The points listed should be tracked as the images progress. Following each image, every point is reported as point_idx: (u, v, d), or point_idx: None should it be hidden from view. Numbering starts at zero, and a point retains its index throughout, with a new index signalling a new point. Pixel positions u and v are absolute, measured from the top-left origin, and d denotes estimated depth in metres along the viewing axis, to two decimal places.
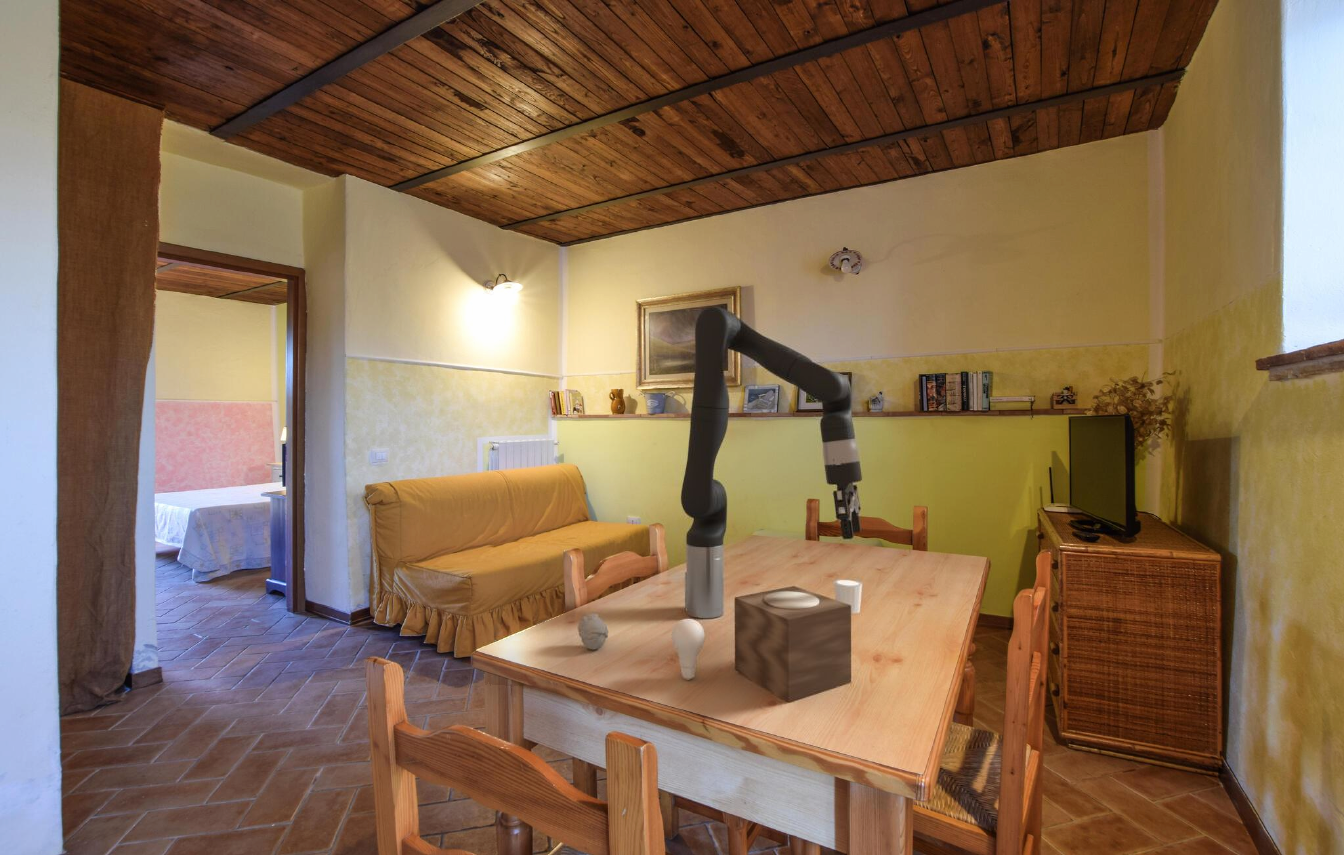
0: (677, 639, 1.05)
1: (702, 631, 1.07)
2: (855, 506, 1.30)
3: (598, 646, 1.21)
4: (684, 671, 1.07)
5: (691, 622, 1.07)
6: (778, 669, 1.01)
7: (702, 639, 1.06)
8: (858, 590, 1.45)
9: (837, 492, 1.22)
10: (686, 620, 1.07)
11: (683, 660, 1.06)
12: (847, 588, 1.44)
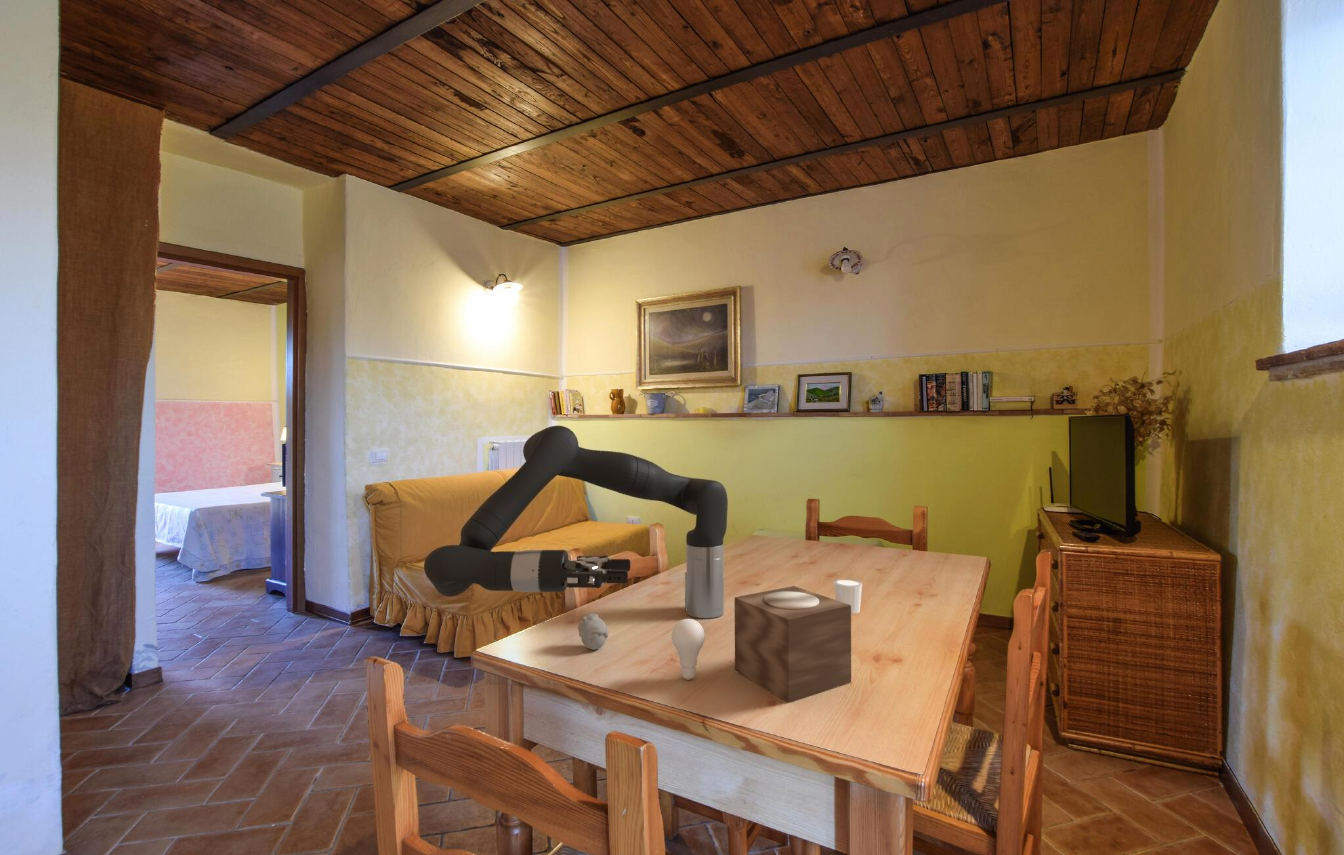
0: (677, 639, 1.05)
1: (702, 631, 1.07)
2: None
3: (598, 646, 1.21)
4: (684, 671, 1.07)
5: (691, 622, 1.07)
6: (778, 669, 1.01)
7: (702, 639, 1.06)
8: (858, 590, 1.45)
9: None
10: (686, 620, 1.07)
11: (683, 660, 1.06)
12: (847, 588, 1.44)
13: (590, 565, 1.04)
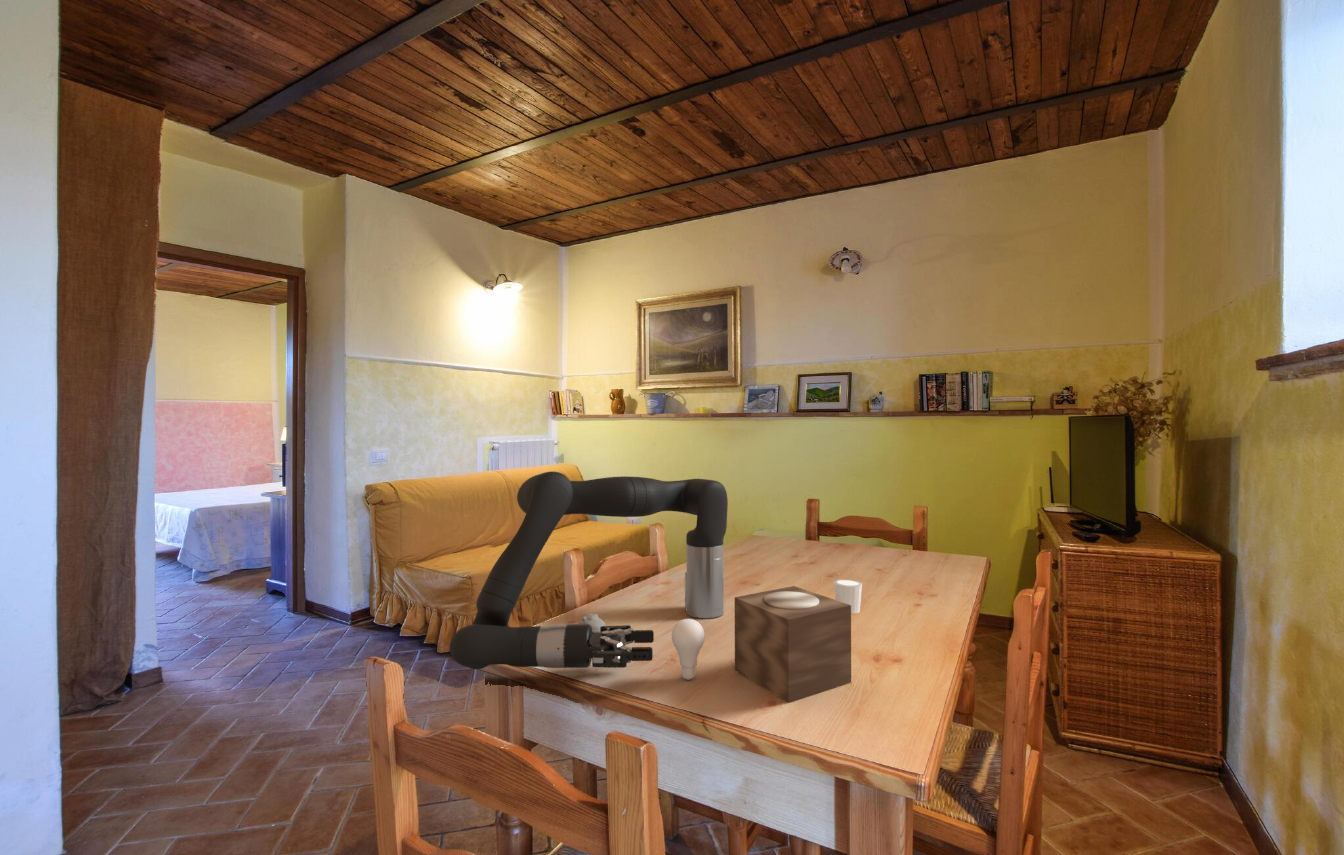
0: (677, 639, 1.05)
1: (702, 631, 1.07)
2: None
3: None
4: (684, 671, 1.07)
5: (691, 622, 1.07)
6: (778, 669, 1.01)
7: (702, 639, 1.06)
8: (858, 590, 1.45)
9: None
10: (686, 620, 1.07)
11: (683, 660, 1.06)
12: (847, 588, 1.44)
13: (615, 642, 1.04)
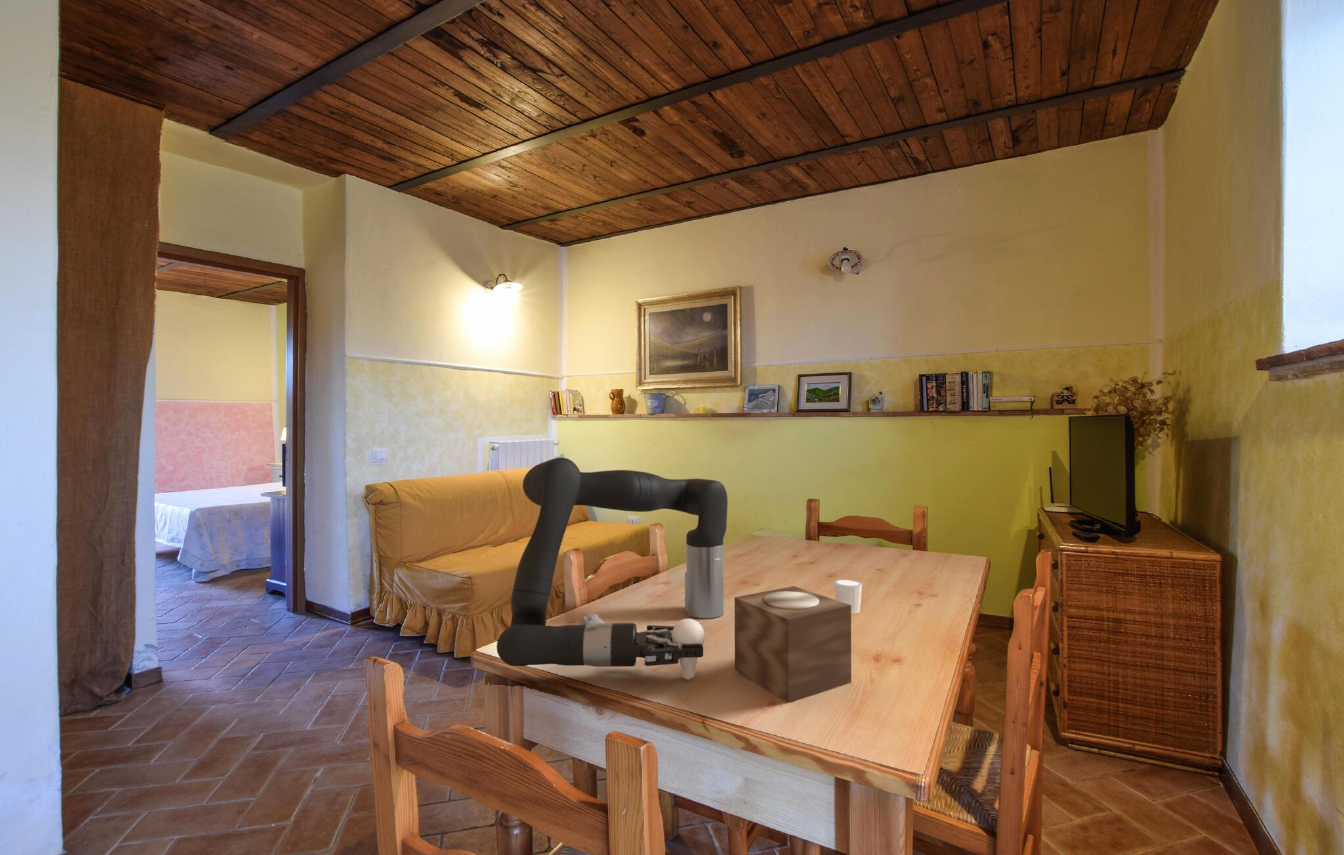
0: (677, 639, 1.05)
1: (702, 631, 1.07)
2: None
3: None
4: (684, 671, 1.07)
5: (691, 622, 1.07)
6: (778, 669, 1.01)
7: (702, 639, 1.06)
8: (858, 590, 1.45)
9: None
10: (686, 620, 1.07)
11: (683, 660, 1.06)
12: (847, 588, 1.44)
13: (663, 640, 1.05)
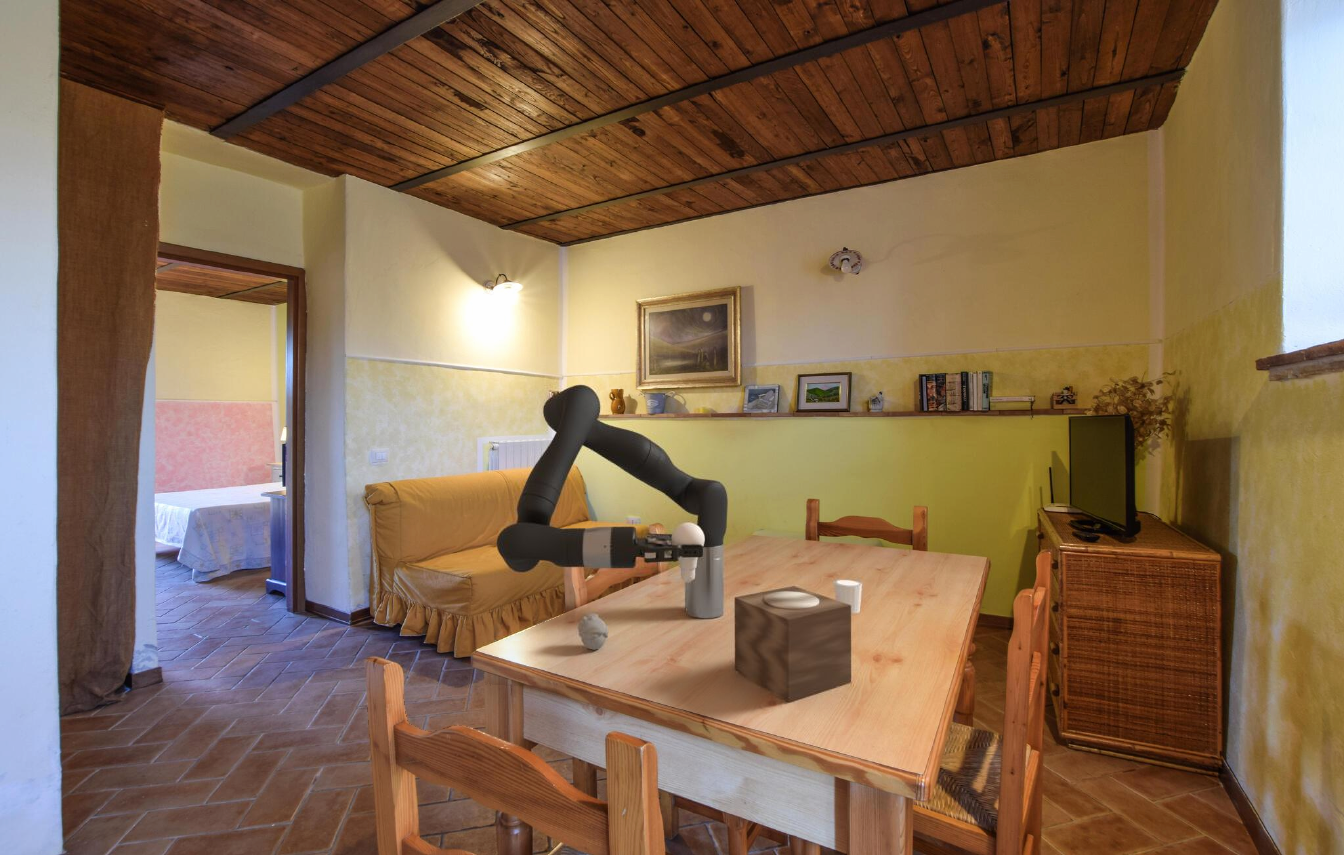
0: (676, 541, 1.05)
1: (702, 533, 1.07)
2: None
3: (598, 646, 1.21)
4: (684, 573, 1.07)
5: (691, 524, 1.07)
6: (778, 669, 1.01)
7: (702, 541, 1.06)
8: (858, 590, 1.45)
9: None
10: (686, 523, 1.07)
11: (682, 561, 1.06)
12: (847, 588, 1.44)
13: (663, 540, 1.05)
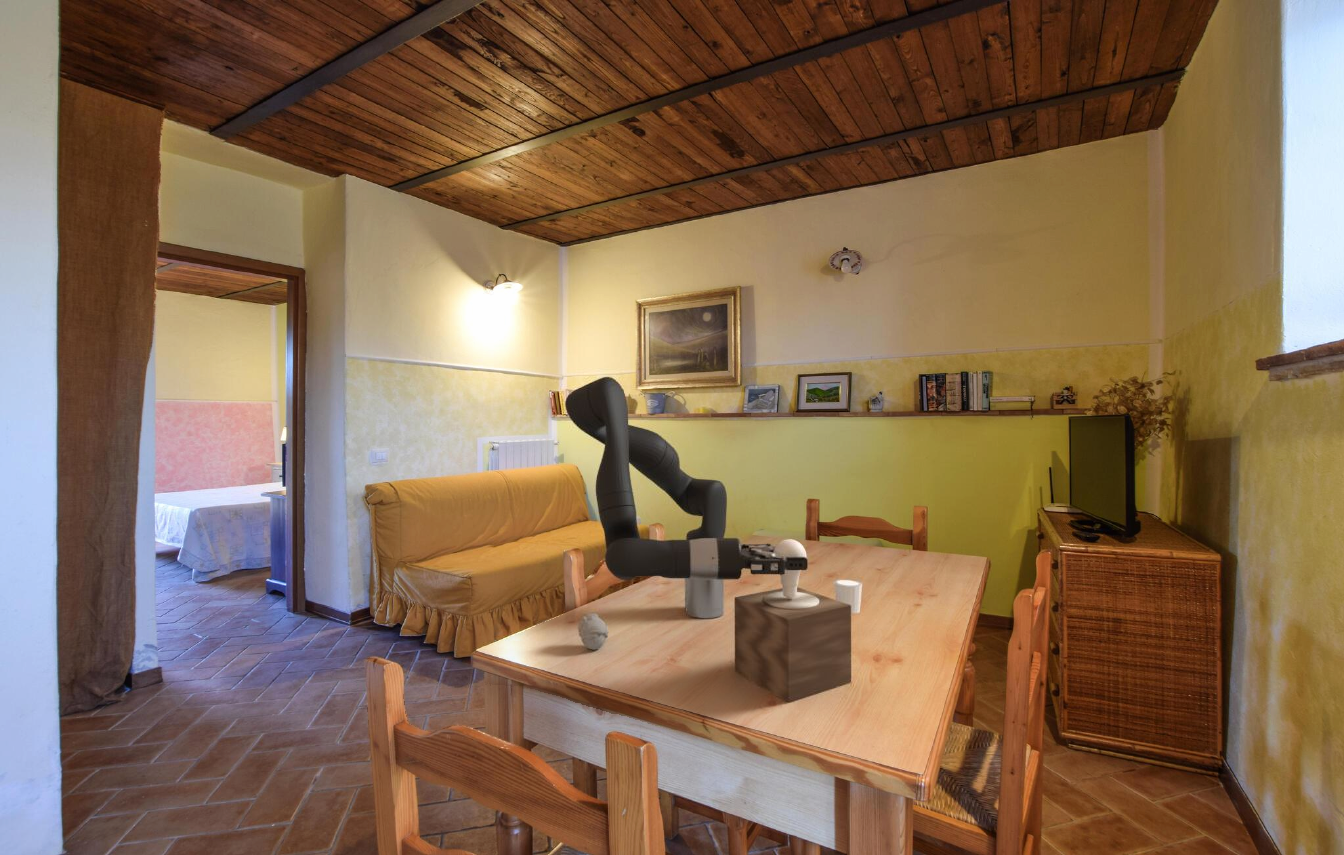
0: None
1: (804, 550, 1.08)
2: None
3: (598, 646, 1.21)
4: (787, 589, 1.08)
5: (793, 541, 1.08)
6: (778, 669, 1.01)
7: None
8: (858, 590, 1.45)
9: None
10: (788, 540, 1.09)
11: (786, 578, 1.07)
12: (847, 588, 1.44)
13: (768, 552, 1.05)
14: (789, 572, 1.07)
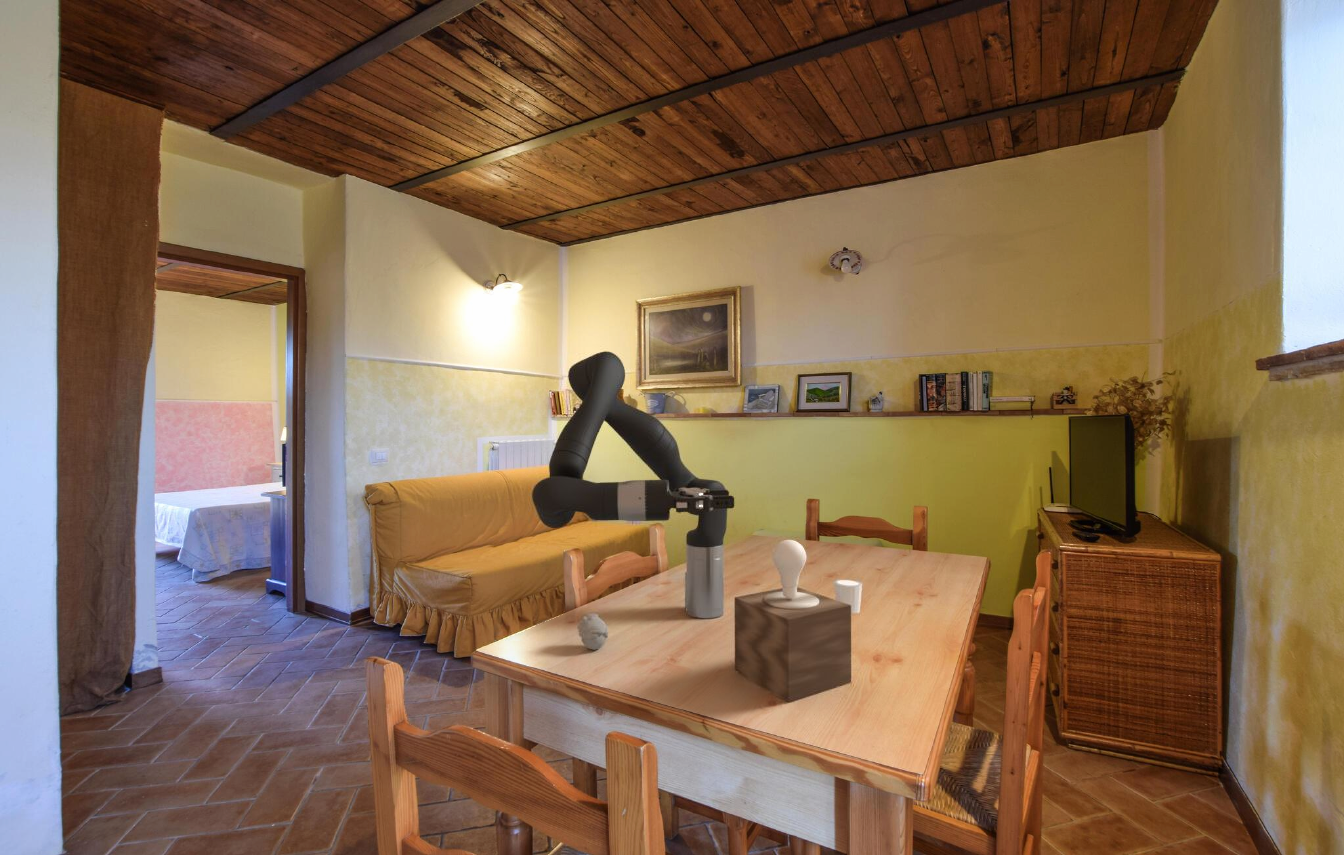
0: (780, 558, 1.06)
1: (804, 551, 1.07)
2: None
3: (598, 646, 1.21)
4: (786, 590, 1.07)
5: (793, 542, 1.07)
6: (778, 669, 1.01)
7: (805, 558, 1.07)
8: (858, 590, 1.45)
9: None
10: (787, 540, 1.08)
11: (785, 579, 1.07)
12: (847, 588, 1.44)
13: (695, 492, 1.05)
14: (789, 573, 1.06)
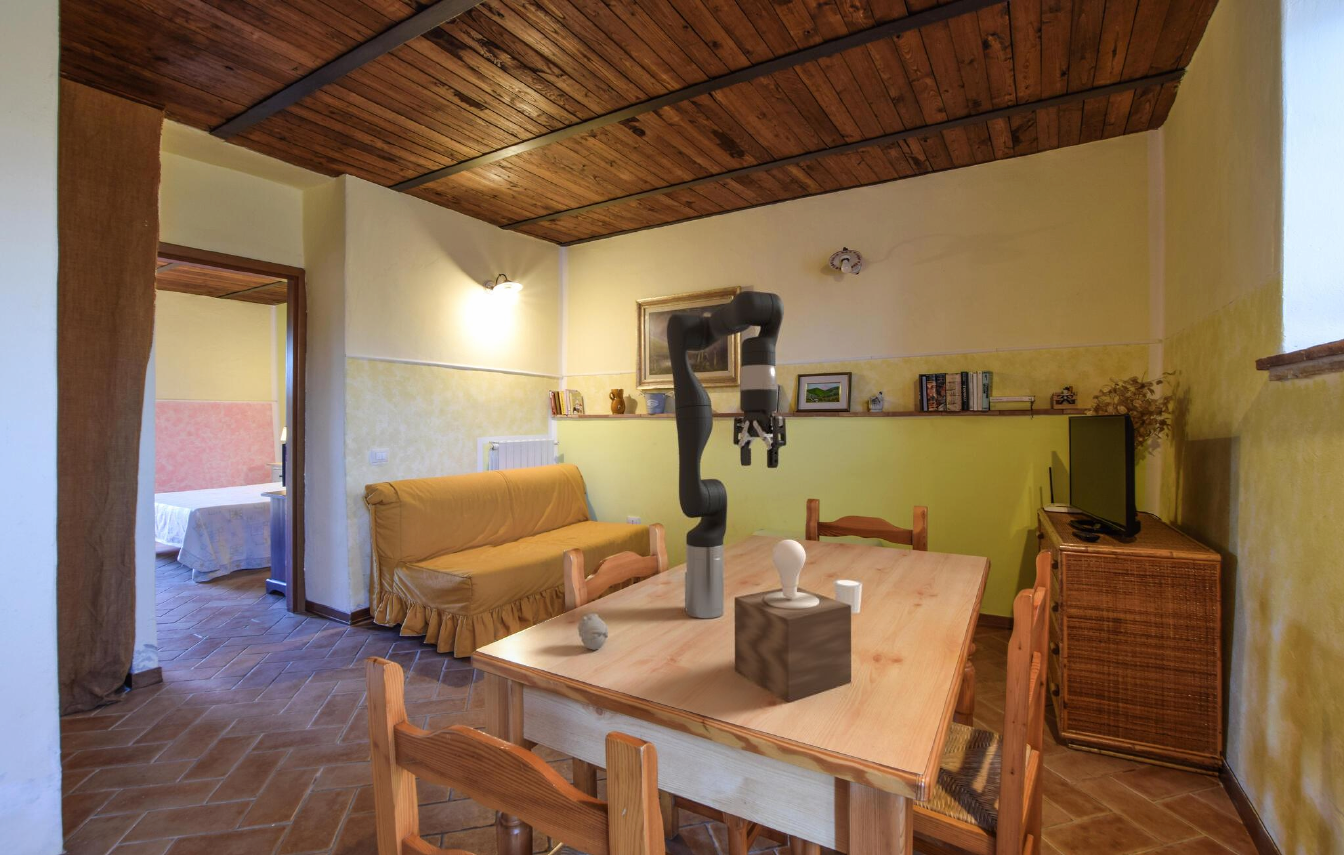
0: (779, 558, 1.06)
1: (803, 550, 1.08)
2: None
3: (598, 646, 1.21)
4: (786, 590, 1.07)
5: (792, 541, 1.08)
6: (778, 669, 1.01)
7: (804, 557, 1.07)
8: (858, 590, 1.45)
9: None
10: (787, 540, 1.08)
11: (785, 578, 1.07)
12: (847, 588, 1.44)
13: None
14: (788, 573, 1.07)
